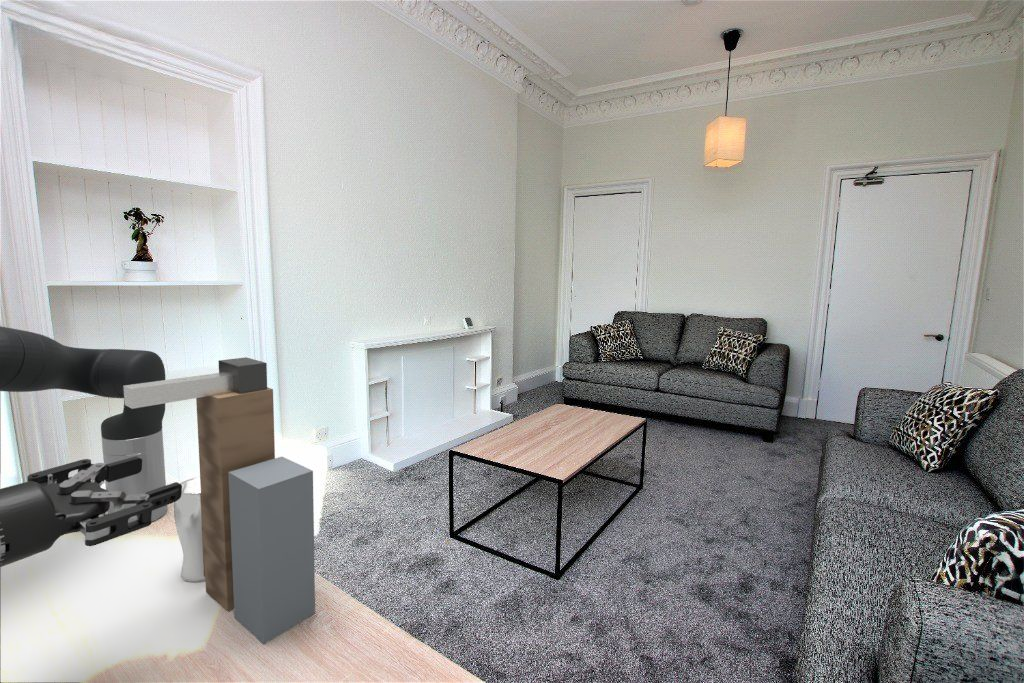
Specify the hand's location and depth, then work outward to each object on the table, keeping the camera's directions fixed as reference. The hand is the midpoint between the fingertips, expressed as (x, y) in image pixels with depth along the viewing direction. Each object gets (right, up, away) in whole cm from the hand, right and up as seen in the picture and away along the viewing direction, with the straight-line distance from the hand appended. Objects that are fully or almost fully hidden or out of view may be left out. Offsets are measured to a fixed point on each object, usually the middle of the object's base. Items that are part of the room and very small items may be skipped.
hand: (159, 476), depth 61 cm
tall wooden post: (+3, -21, +14) cm, 26 cm away
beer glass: (-6, -21, +18) cm, 28 cm away
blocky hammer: (+2, +10, +5) cm, 11 cm away
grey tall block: (+11, -22, +8) cm, 26 cm away
